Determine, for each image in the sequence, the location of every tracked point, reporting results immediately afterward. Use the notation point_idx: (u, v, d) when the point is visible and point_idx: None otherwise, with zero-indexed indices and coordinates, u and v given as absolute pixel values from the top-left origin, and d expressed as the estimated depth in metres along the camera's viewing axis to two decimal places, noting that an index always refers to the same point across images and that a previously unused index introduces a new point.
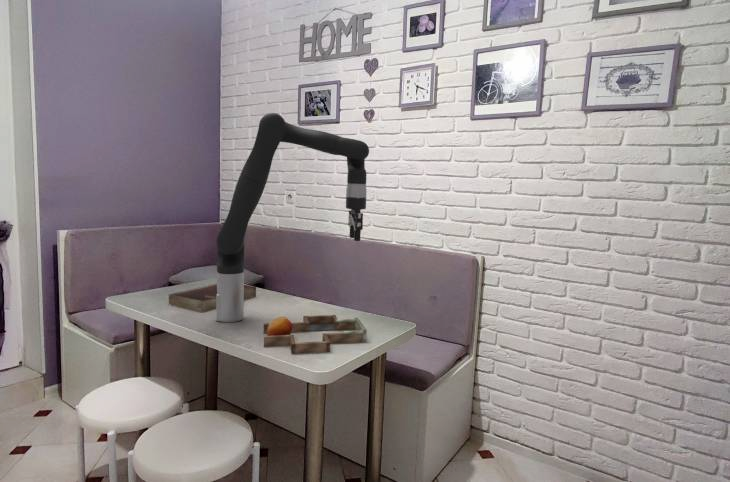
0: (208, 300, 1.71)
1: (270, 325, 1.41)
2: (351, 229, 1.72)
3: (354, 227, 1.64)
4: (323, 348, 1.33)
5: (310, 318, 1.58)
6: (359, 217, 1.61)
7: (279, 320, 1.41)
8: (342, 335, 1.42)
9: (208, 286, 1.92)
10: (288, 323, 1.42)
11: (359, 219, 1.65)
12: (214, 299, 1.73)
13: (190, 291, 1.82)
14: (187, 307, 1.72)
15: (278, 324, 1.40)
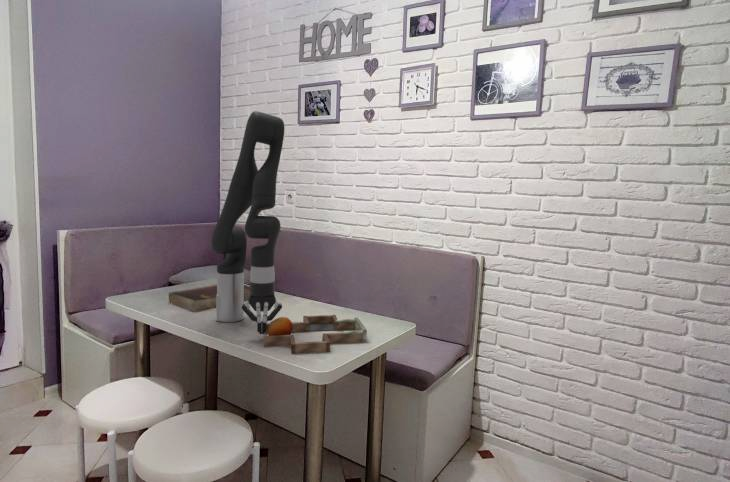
0: (202, 300, 1.70)
1: (271, 325, 1.41)
2: None
3: (265, 319, 1.41)
4: (323, 348, 1.33)
5: (310, 318, 1.58)
6: None
7: (280, 320, 1.41)
8: (342, 335, 1.42)
9: (211, 286, 1.92)
10: (289, 323, 1.42)
11: None
12: (209, 299, 1.73)
13: (190, 290, 1.84)
14: (183, 306, 1.73)
15: (279, 324, 1.40)
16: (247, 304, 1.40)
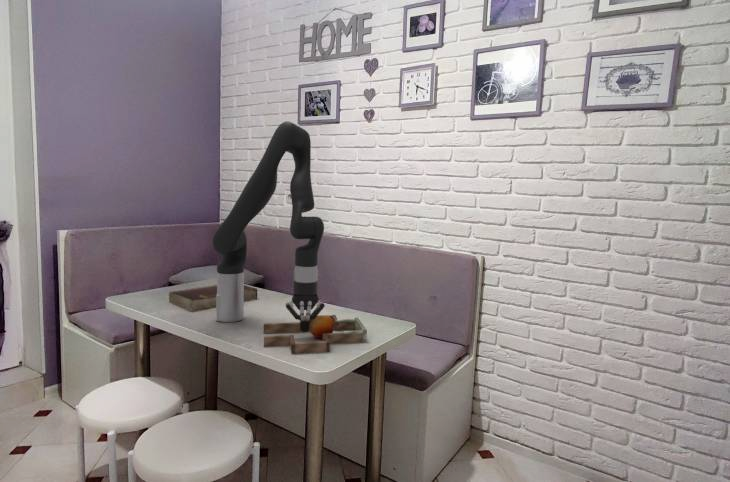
0: (199, 300, 1.70)
1: (313, 323, 1.44)
2: None
3: (308, 317, 1.44)
4: (323, 348, 1.33)
5: None
6: None
7: (322, 318, 1.45)
8: (342, 335, 1.42)
9: (212, 286, 1.93)
10: (331, 321, 1.45)
11: None
12: (206, 299, 1.73)
13: (191, 290, 1.84)
14: (181, 306, 1.74)
15: (322, 322, 1.43)
16: (291, 303, 1.43)
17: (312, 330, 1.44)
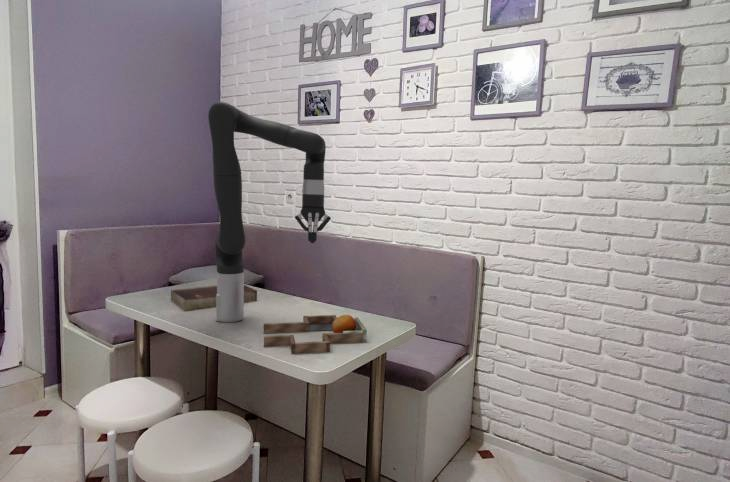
0: (193, 299, 1.71)
1: (336, 322, 1.46)
2: None
3: (315, 228, 1.56)
4: (323, 348, 1.33)
5: (310, 318, 1.58)
6: None
7: (344, 317, 1.47)
8: (342, 335, 1.42)
9: (216, 286, 1.93)
10: (353, 320, 1.47)
11: None
12: (201, 299, 1.73)
13: (192, 289, 1.86)
14: (178, 304, 1.75)
15: (344, 321, 1.45)
16: (300, 215, 1.55)
17: (335, 329, 1.46)
